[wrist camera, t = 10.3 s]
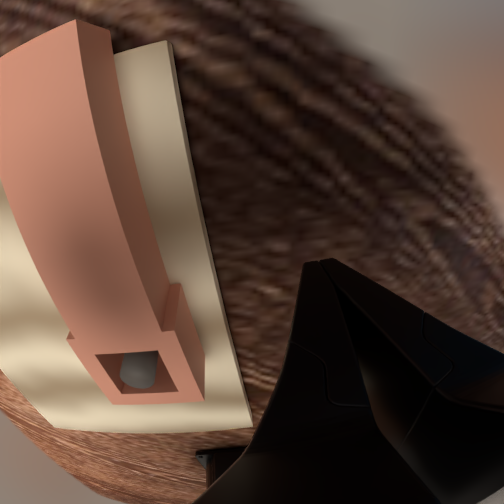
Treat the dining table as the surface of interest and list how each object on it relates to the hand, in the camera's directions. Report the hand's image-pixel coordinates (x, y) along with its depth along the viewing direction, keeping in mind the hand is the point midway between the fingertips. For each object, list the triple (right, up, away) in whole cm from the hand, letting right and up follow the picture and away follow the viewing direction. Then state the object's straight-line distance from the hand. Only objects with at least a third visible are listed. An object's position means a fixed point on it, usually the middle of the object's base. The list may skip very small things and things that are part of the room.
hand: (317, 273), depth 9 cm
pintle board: (-12, -3, +7) cm, 15 cm away
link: (-8, +1, +4) cm, 9 cm away
